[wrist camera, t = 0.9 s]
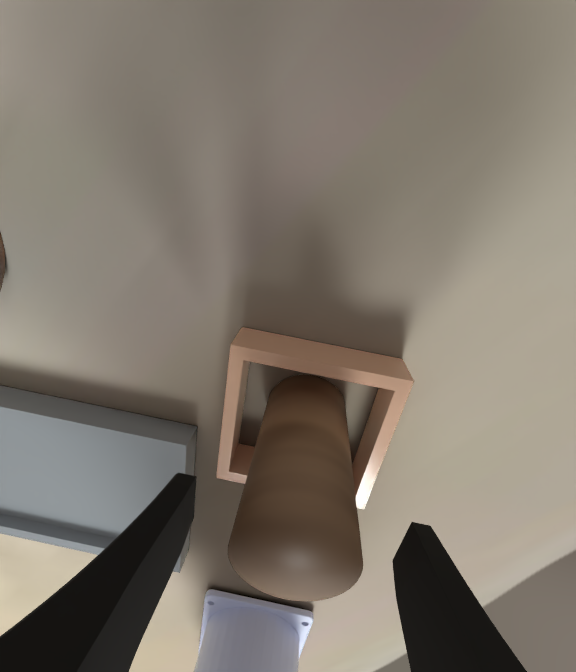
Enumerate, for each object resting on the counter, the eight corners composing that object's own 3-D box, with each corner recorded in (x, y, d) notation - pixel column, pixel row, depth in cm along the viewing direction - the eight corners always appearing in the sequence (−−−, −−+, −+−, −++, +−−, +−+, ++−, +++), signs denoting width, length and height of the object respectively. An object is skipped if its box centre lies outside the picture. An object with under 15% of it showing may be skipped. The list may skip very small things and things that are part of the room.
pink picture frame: (359, 477, 18) (363, 509, 16) (227, 449, 18) (216, 477, 16) (402, 358, 14) (414, 381, 13) (242, 327, 15) (230, 344, 13)
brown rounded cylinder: (335, 445, 17) (344, 611, 10) (262, 430, 17) (222, 585, 10) (353, 383, 15) (380, 530, 8) (273, 367, 15) (234, 499, 9)
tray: (188, 549, 22) (179, 572, 20) (-17, 504, 22) (-40, 524, 21) (197, 426, 17) (186, 445, 16) (-59, 373, 18) (-91, 387, 16)
